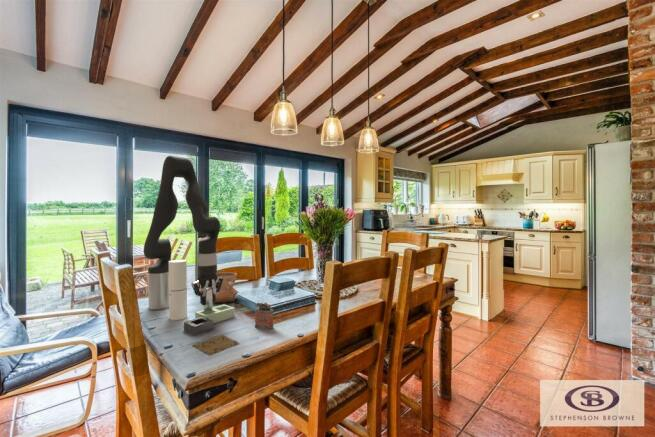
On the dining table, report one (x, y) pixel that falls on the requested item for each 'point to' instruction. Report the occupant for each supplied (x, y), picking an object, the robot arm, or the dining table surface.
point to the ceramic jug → (226, 287)
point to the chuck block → (198, 325)
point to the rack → (217, 313)
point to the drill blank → (209, 300)
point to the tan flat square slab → (215, 344)
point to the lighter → (264, 316)
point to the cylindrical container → (177, 289)
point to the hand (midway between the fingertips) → (208, 303)
